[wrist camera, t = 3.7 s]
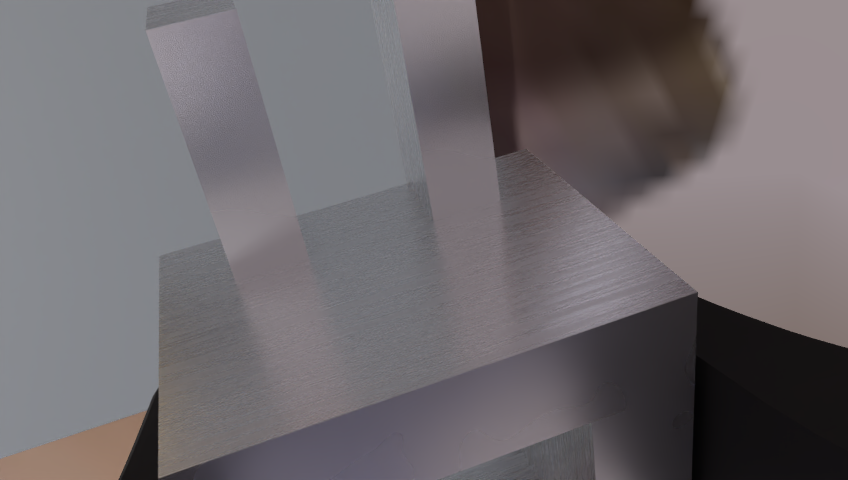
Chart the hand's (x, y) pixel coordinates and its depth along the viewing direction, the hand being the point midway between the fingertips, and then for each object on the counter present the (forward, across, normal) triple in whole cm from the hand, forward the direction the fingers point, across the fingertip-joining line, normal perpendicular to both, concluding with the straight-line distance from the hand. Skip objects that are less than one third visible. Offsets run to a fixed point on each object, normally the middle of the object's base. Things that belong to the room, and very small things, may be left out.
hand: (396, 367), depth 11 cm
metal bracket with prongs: (+1, 0, -1) cm, 2 cm away
